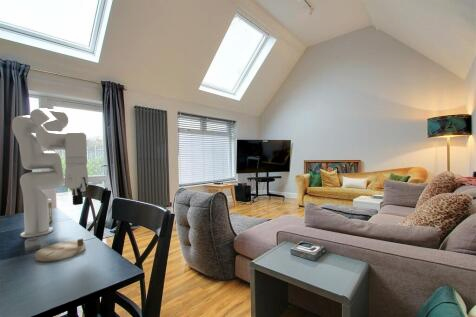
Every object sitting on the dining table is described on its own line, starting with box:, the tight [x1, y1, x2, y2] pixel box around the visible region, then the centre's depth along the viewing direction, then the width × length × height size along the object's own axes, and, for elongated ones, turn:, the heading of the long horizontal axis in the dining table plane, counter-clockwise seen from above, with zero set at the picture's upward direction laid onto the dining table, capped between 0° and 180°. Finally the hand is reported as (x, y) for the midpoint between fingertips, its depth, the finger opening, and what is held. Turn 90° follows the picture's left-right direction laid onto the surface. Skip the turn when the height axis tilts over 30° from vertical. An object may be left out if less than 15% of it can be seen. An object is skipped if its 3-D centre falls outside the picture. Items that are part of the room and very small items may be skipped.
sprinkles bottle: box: [48, 198, 53, 222], centre depth 137 cm, size 5×5×13 cm
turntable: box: [34, 238, 86, 262], centre depth 93 cm, size 16×16×4 cm
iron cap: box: [24, 236, 42, 253], centre depth 97 cm, size 5×5×5 cm
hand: (77, 204), depth 97 cm, fingers closed
